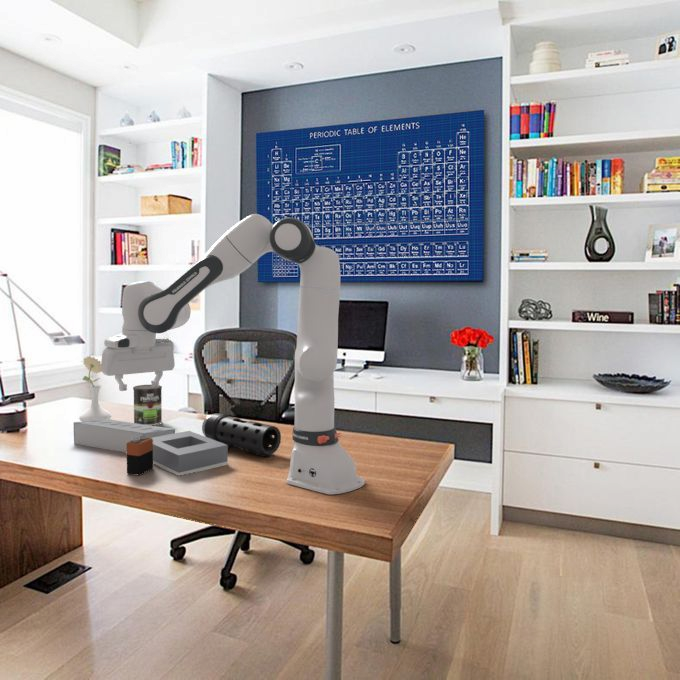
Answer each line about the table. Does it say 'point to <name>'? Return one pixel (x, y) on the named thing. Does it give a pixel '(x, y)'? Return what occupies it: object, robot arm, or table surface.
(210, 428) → the muzzle brake
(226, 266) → the robot arm
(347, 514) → the table surface
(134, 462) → the battery
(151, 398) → the coffee can
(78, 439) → the white slatted block
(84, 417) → the flower in vase
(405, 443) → the table surface
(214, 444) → the dock
